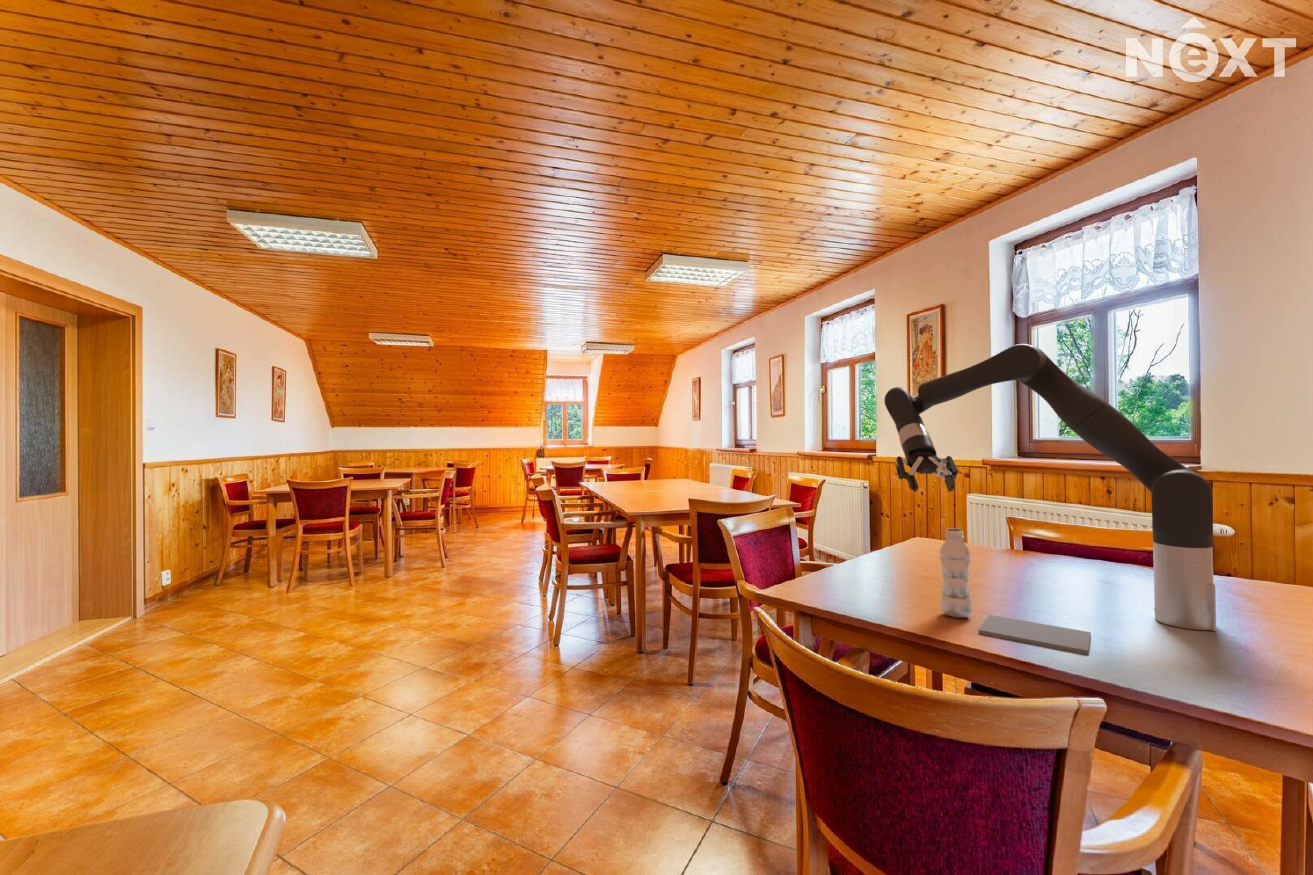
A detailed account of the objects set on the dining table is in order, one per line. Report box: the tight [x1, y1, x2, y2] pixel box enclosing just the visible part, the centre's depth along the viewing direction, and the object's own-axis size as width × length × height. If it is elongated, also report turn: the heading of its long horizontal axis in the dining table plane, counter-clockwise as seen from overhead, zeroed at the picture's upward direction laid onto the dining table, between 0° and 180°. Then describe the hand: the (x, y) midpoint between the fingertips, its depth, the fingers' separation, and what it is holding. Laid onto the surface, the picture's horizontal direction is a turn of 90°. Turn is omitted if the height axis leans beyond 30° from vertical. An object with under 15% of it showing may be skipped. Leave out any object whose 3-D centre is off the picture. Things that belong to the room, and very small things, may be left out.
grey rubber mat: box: [978, 614, 1092, 656], centre depth 111 cm, size 18×12×1 cm, turn 49°
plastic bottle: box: [939, 528, 973, 619], centre depth 123 cm, size 6×7×20 cm
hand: (933, 489), depth 134 cm, fingers open, 8 cm apart
